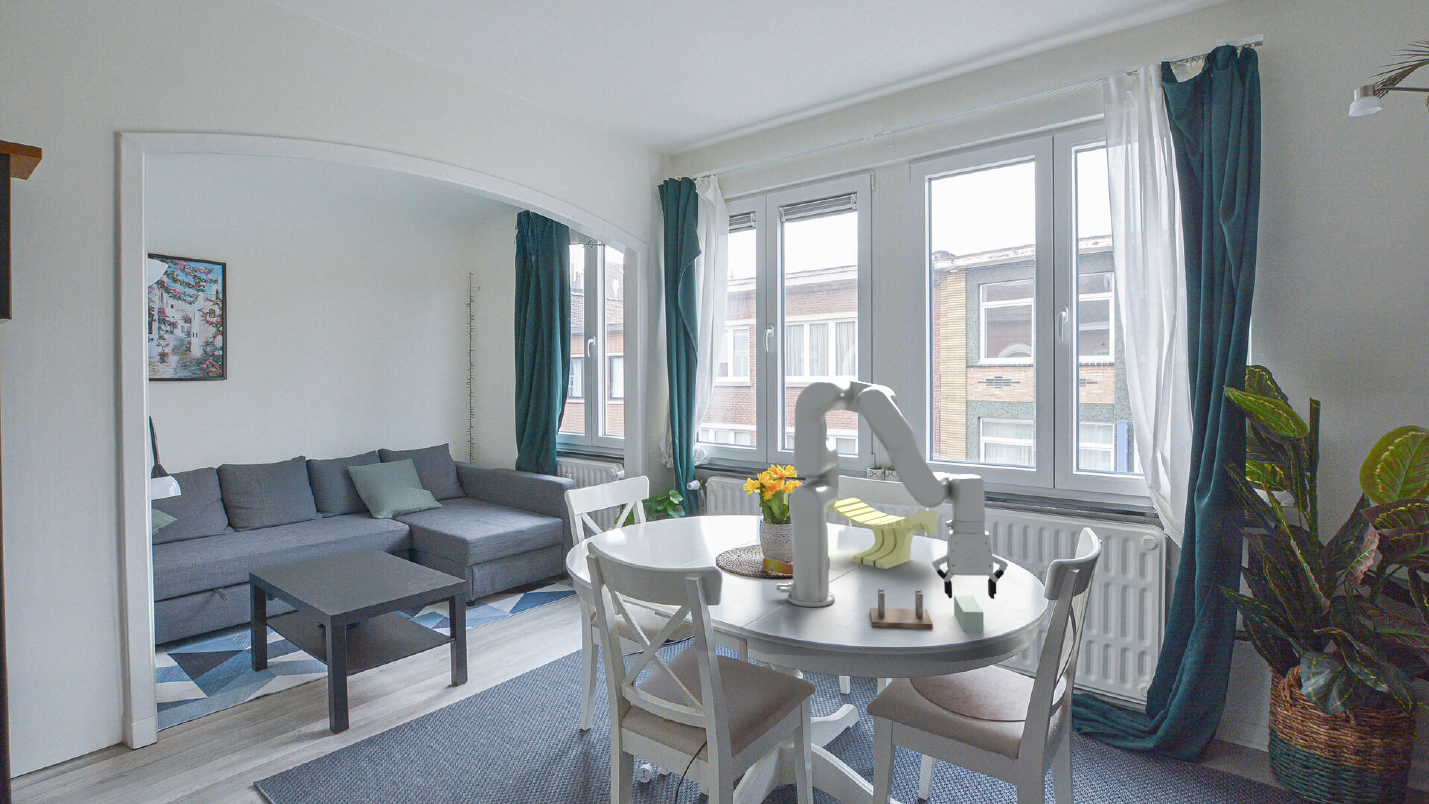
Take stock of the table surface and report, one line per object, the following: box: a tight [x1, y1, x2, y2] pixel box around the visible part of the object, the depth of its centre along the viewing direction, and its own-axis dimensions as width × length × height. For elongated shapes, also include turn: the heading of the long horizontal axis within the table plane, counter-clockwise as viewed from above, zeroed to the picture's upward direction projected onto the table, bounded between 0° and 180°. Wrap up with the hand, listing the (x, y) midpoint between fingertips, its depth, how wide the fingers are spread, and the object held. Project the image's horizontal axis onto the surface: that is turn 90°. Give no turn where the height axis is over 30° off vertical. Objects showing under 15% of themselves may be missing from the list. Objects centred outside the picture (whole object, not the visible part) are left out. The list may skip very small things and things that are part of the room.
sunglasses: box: [762, 557, 793, 574], centre depth 220 cm, size 14×15×5 cm
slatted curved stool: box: [829, 497, 939, 570], centre depth 228 cm, size 30×16×18 cm, turn 42°
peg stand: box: [869, 588, 934, 630], centre depth 174 cm, size 14×10×7 cm
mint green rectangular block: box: [953, 594, 984, 633], centre depth 171 cm, size 4×12×5 cm, turn 171°
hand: (970, 596), depth 171 cm, fingers open, 9 cm apart
